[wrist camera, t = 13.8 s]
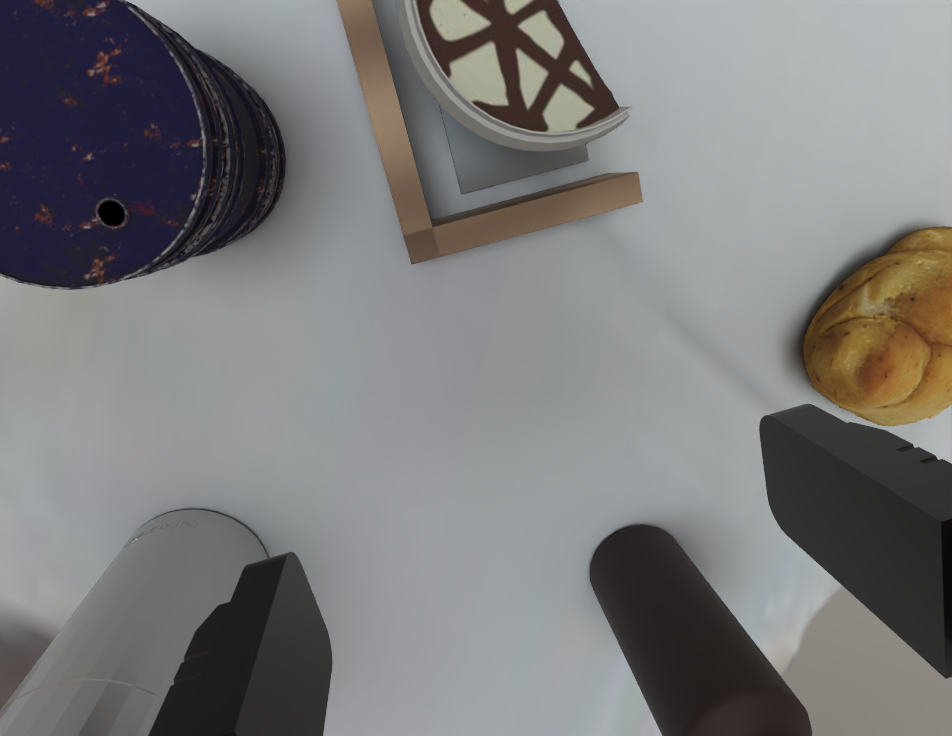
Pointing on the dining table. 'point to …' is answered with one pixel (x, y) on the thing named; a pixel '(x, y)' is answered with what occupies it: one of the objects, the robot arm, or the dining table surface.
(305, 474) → the dining table surface
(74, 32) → the rusty blue oil drum
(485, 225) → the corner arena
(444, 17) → the food container
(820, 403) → the dining table surface
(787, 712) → the vinegar
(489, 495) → the dining table surface
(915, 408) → the bread roll
